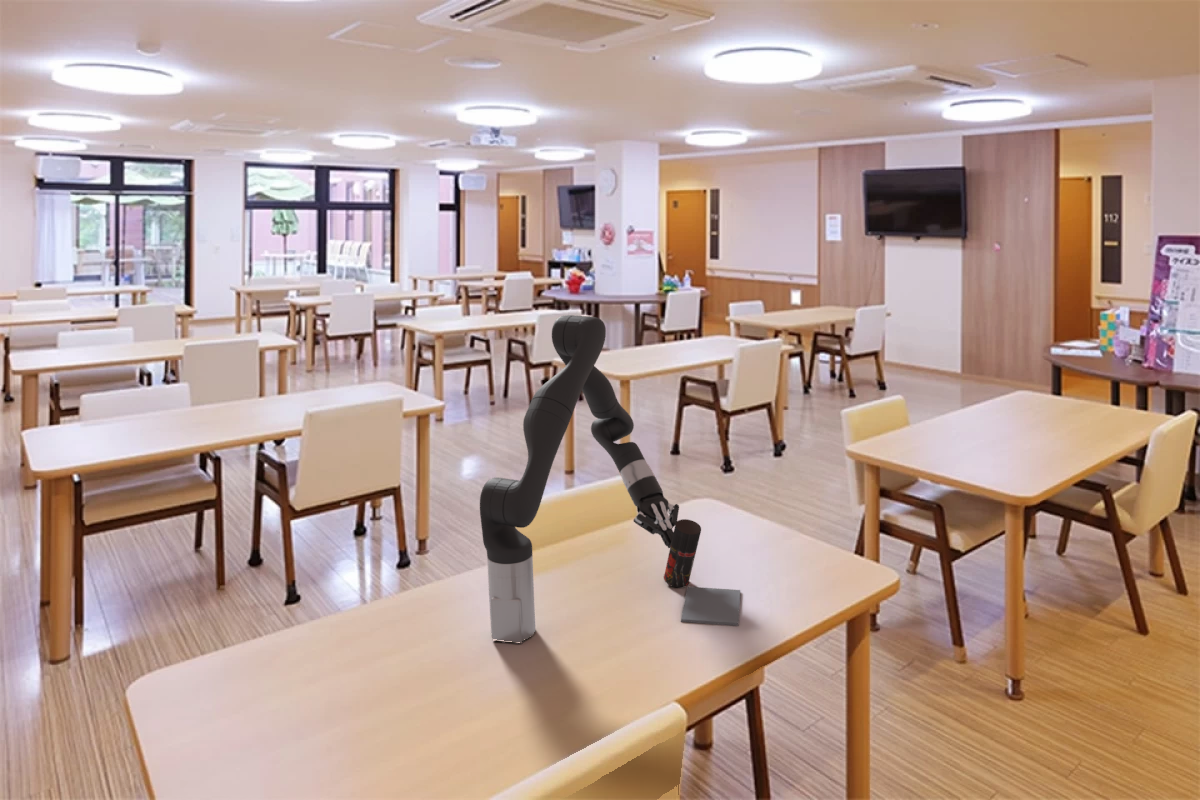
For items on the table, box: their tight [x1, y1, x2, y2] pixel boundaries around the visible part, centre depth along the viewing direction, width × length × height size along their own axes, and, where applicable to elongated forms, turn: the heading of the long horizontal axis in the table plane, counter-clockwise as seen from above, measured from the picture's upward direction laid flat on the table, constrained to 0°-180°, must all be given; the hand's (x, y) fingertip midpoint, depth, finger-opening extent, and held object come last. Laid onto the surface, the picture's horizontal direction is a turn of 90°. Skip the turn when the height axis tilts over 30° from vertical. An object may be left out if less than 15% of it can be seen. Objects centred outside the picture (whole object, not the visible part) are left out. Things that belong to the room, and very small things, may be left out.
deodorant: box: [663, 518, 702, 589], centre depth 193 cm, size 6×6×15 cm
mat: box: [680, 586, 741, 627], centre depth 184 cm, size 16×12×1 cm
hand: (673, 545), depth 195 cm, fingers closed
